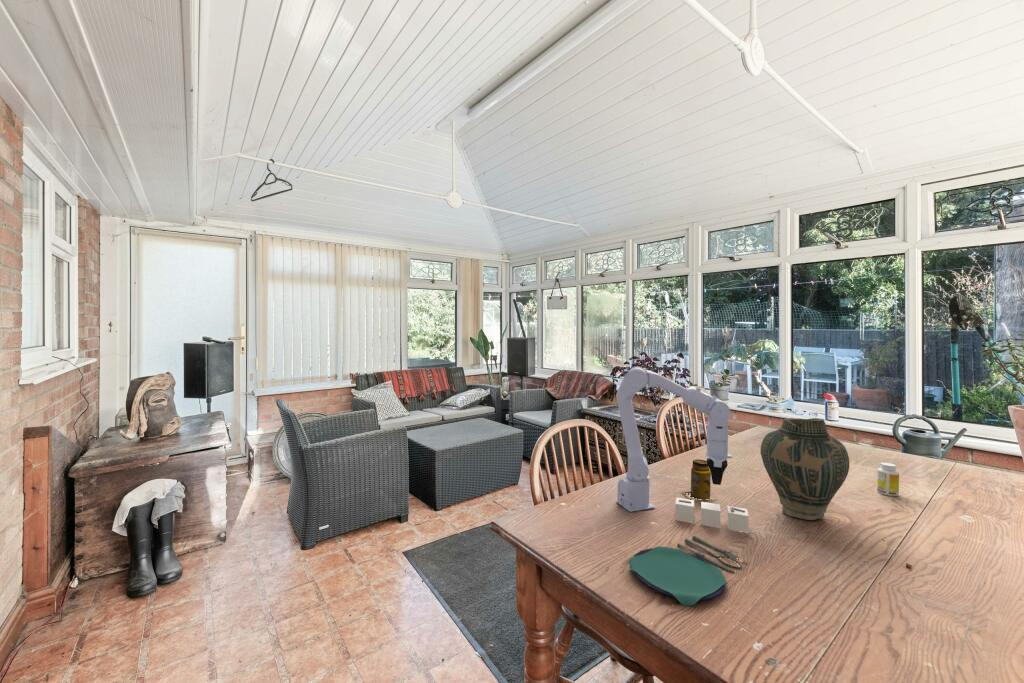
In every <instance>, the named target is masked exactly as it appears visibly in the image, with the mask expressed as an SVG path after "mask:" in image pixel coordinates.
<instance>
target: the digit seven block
mask: <svg viewBox="0 0 1024 683" xmlns="http://www.w3.org/2000/svg"><path fill="white" fill-rule="evenodd" d="M726 507H727V510H726V511H727V512H726V523H727V524H726V525H728V526H727V530H728V529H730V530H729V531H731V530H736V531H743V532H748V533H749V529H750V528H749V527H750V526H749V525H750V523H749V522H750V520H749V519H750V515H749V511H748V508H742V507H736V506H730V505H726ZM736 531H735V532H736Z"/></svg>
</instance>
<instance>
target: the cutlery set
mask: <svg viewBox="0 0 1024 683" xmlns="http://www.w3.org/2000/svg"><path fill="white" fill-rule="evenodd" d="M691 537H692V540H690V539H688V538H685V539H684V543H686V544H689V545H691V546H693V547H695V548H698V549H701V550H702V551H704V552H706V553H707V554H709V555H711V556H713V557H715V558H716V557H717V559H718V560H719V562H720V561H721V562H720V563H719V562H717V561H715V560H713V559H711V558H708V557H707V556H705V555H706V554H703V553H701V552H699V551H696V550H693V549H690V548H688V547H686V546H684V545H682V544H681V543H680V542H678V543H677V547H681V548H683V549H685V550H687V551H689V552H691V553H689V552H686V551H685V550H683V549H681V548H676V547H671V546H658V545H657V546H655V547H654V548H653V547H652V548H646V549H644V550H640V551H638V552H636V553H635V554H633V556H632V557H630V559H629V560H628V564H629V570H630V572H633V573H634V574H635V576H636V577H637V579H638V580H640V581H641V582H642V583H644V585H646V586H648V587H649V588H651V589H653V590H655V591H656V592H659V593H661V594H663V595H667V596H670V597H673V598H675V599H676V600H677V601H678V602H679V603H680V604H681V605H682V606H685V607H691V606H694V605H695V604H697V603H698V602H699V601H704V600H705V601H706V600H710V599H713V598H714V599H715V598H717V597H719V596H720V595H721V594H722V593H723V592H724V590H725V587H726V586H727V585H728V582H727V580H726V577H725V576H724V574H723V572H722V570H721V569H722V568H724V569H726V570H729V571H732V572H731V573H733V572H734V573H735V570H733V569H732V568H735V567H737V568H736V569H740V568H742V567H743V565H742V564H740V562H738V561H736V560H737V559H736V558H740V557H739V556H738V555H736V554H734V553H732V551H728V550H726V549H722V548H719V547H717V546H714V545H713V544H711V543H709V542H706V541H705V540H703V539H701V538H699V537H697V536H696V535H693V536H691ZM694 541H696V542H697V543H700V544H702V545H703V546H705V547H708V548H711V549H712V548H713V549H712V550H714V549H715V551H717V552H719V553H720V552H721V553H724V554H723V555H718V554H717V555H716V554H715V553H714V552H712V551H711V550H708V549H707V548H705V547H703V546H701V545H699V544H697V543H696V542H694ZM692 553H693V554H692ZM694 554H695V555H694ZM725 554H726V555H725ZM724 555H725V556H724ZM726 556H728V557H726ZM720 557H721V558H727V559H731V558H733V559H735V560H733V559H731V560H733V561H735V562H736V563H738V564H739V565H740V567H738V566H735V565H734V566H733V565H731V564H728V563H727V562H724V561H723V560H722V559H719V558H720ZM729 557H731V558H729ZM727 559H726V560H727ZM738 560H739V559H738ZM710 562H711V563H710ZM712 563H713V564H712ZM721 563H722V564H721ZM736 563H735V564H736ZM714 564H715V565H714ZM723 564H724V565H723ZM725 564H726V565H725ZM716 565H717V566H716ZM728 565H729V566H728ZM718 566H719V568H718ZM727 566H728V567H727ZM730 566H732V567H731V568H729V567H730ZM720 567H722V568H720ZM724 569H723V570H724ZM726 570H725V571H726ZM729 571H728V572H729Z"/></svg>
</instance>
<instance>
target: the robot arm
mask: <svg viewBox="0 0 1024 683" xmlns="http://www.w3.org/2000/svg"><path fill="white" fill-rule="evenodd" d="M646 386H647V387H648V388H655V387H656V388H657V387H659V388H660V389H663V390H665V391H667V392H670V394H671V393H672V394H673V395H676V396H678V397H679V398H682V402H683V404H685V405H686V406H688V407H691V408H693V409H695V410H697V411H699V412H701V413H702V414H707V423H706V427H707V428H706V453H705V456H706V457H707V458H706V461H707V464H708V466H709V468H710V471H711V482H712V484H713V485H718V486H720V485H722V482H723V481H722V480H723V476H724V473H725V470H726V469H727V467H728V460H727V459H733V455H732V454H730V453H729V450H728V449H729V425H728V424H729V422H728V421H729V418H730V417H731V414H732V411H731V408H730V406H729V405H728V404H727V403H725V402H724V401H723V400H722V399H720V398H719V397H717V396H715V395H710V394H708V393H706V392H704V391H702V388H700V387H698V386H696V387H694V386H692V387H691V386H690V387H684V386H682V385H680V384H678V383H677V382H674V381H672V380H670V379H669V378H667V377H665V376H663V375H662V374H660V373H657V372H654V371H651V370H649V369H646V370H645V369H644V368H643V367H641V366H633V367H631V368H630V369H629V370H628V371H627V372H626V373H625V374H624V376H623V378H622V380H621V382H620V384H619V386H618V389H617V390H616V397H615V398H616V402H617V406H618V411H619V412H618V413H619V416H620V423H621V427H622V431H623V436H624V437H623V438H624V441H625V446H626V451H627V472H626V474H625V477H623V478H621V479H619V480H618V483H617V500H616V501H615V502H616V503H617V502H618V503H619V504H618V503H617V504H618V505H620V506H621V505H622V506H623V508H624V509H625V510H626V511H628V512H629V513H631V512H638V511H644V510H645V511H646V510H650V509H655V508H656V506H655V505H653V504H652V503H650V476H649V473H650V472H649V466H648V465H649V464H648V463H649V462H648V459H647V457H646V456H645V455H644V452H643V448H642V444H641V440H640V434H639V430H638V424H637V420H636V415H635V410H634V405H633V401H632V399H633V398H634V397H635V395H636V394H637V392H639V391H641V390H643V389H644V388H646ZM622 506H621V507H622Z"/></svg>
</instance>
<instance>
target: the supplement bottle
mask: <svg viewBox="0 0 1024 683" xmlns="http://www.w3.org/2000/svg"><path fill="white" fill-rule="evenodd" d="M876 474H877V475H876V476H877V480H876V481H877V483H876V490H877V492H878V493H879V494H882V495H884V496H889V497H890V496H891V497H898V496H899V494H900V491H899V490H900V472H899V471H898V470H897V465H896V464H893V463H890V462H880V467H879V468H877V473H876Z"/></svg>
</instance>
